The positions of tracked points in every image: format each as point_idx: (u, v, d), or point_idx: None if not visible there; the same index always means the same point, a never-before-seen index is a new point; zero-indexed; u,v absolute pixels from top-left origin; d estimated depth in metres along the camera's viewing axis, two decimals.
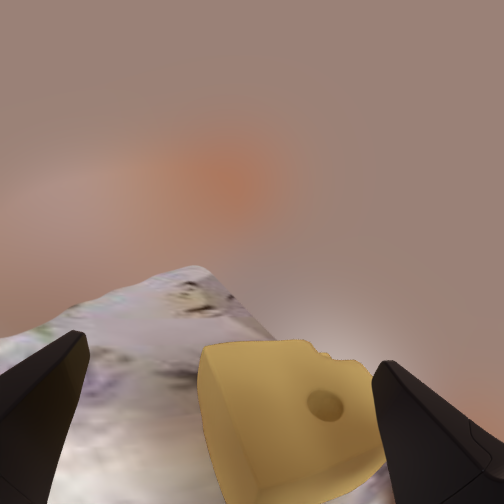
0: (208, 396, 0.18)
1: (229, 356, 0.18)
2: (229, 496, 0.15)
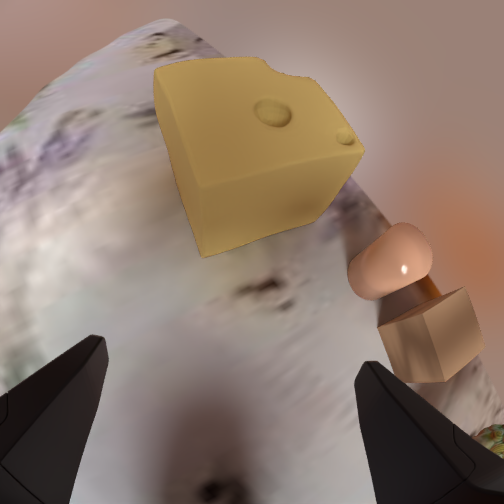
0: (163, 115, 0.18)
1: (178, 72, 0.16)
2: (191, 218, 0.21)
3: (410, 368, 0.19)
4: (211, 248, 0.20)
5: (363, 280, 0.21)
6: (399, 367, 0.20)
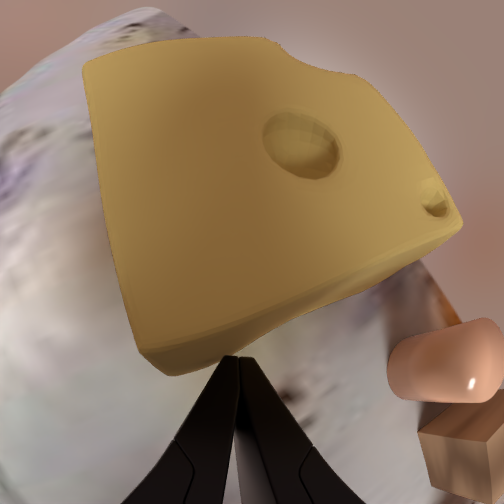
0: None
1: (118, 66, 0.08)
2: None
3: (451, 481, 0.11)
4: None
5: (410, 388, 0.13)
6: (438, 475, 0.12)
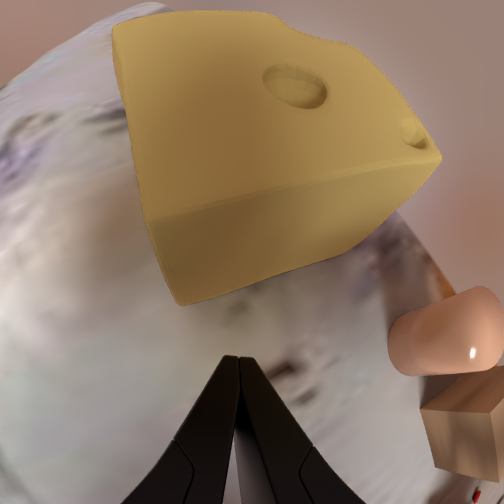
0: (123, 94, 0.11)
1: (145, 27, 0.09)
2: None
3: (456, 460, 0.12)
4: (190, 302, 0.12)
5: (412, 360, 0.14)
6: (441, 455, 0.13)
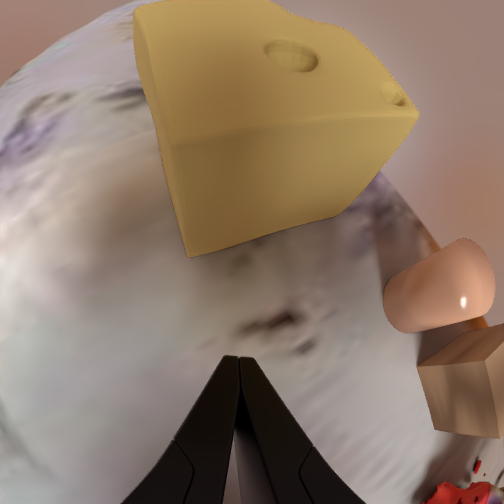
0: (142, 66, 0.12)
1: (163, 9, 0.10)
2: (174, 204, 0.15)
3: (455, 418, 0.13)
4: (198, 245, 0.14)
5: (406, 312, 0.15)
6: (440, 414, 0.14)
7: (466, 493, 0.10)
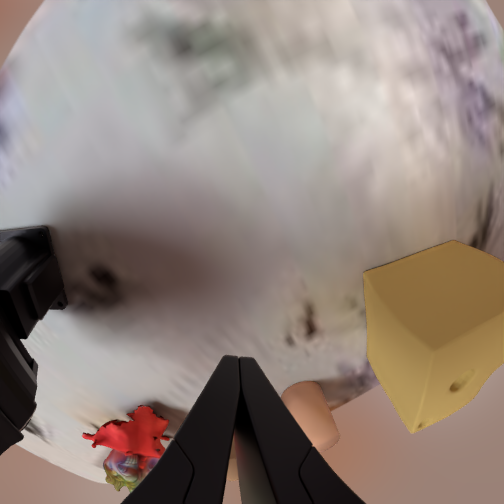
0: (496, 280, 0.16)
1: None
2: (402, 276, 0.20)
3: None
4: (374, 299, 0.20)
5: (300, 399, 0.25)
6: None
7: None
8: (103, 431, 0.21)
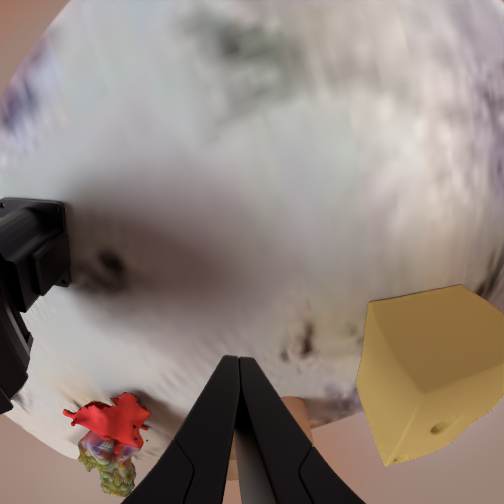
0: (495, 333, 0.16)
1: None
2: (405, 313, 0.20)
3: None
4: (374, 331, 0.20)
5: None
6: None
7: (138, 430, 0.24)
8: (84, 411, 0.22)
